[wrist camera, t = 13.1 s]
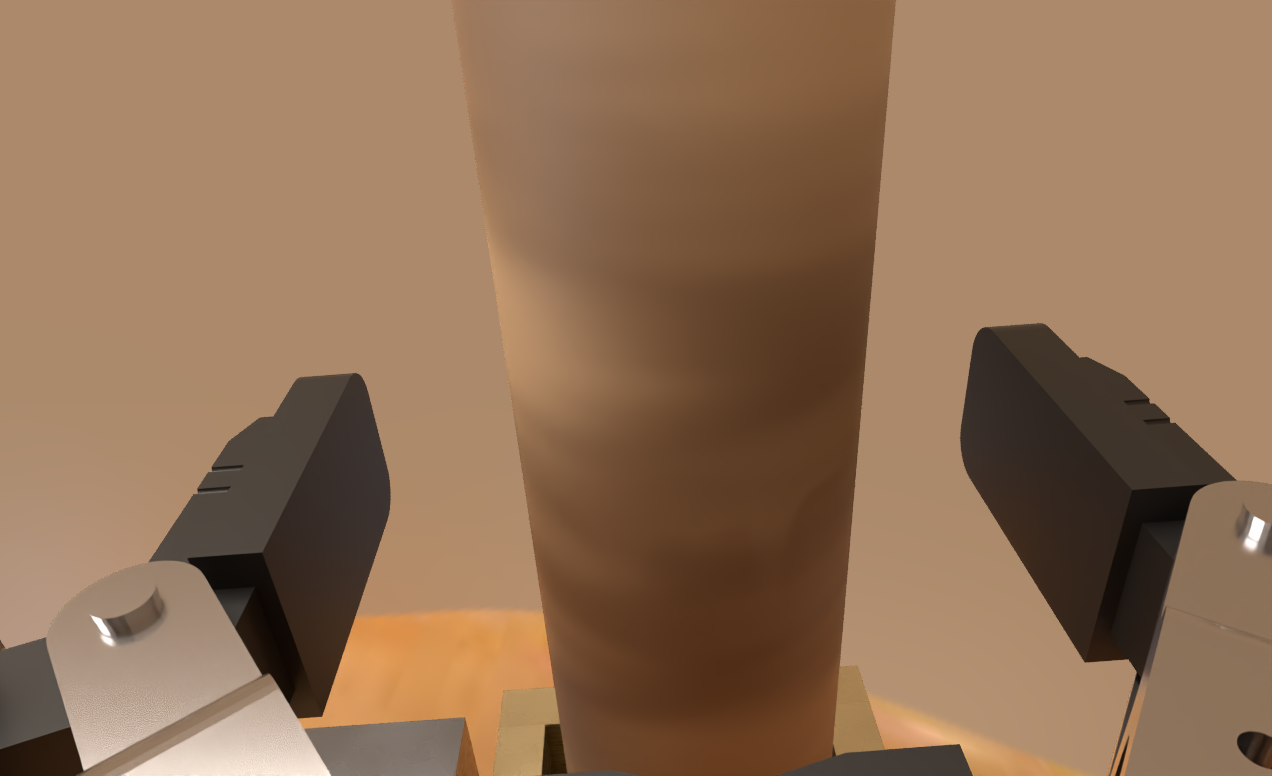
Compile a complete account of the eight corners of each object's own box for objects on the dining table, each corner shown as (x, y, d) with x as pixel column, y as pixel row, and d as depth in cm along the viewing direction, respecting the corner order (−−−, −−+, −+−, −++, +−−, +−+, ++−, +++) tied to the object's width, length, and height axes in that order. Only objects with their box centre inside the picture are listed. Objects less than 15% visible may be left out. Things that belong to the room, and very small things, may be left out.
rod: (566, 1057, 18) (290, -315, 7) (649, 862, 21) (556, -258, 10) (778, 1161, 16) (870, -424, 5) (831, 930, 20) (953, -312, 9)
